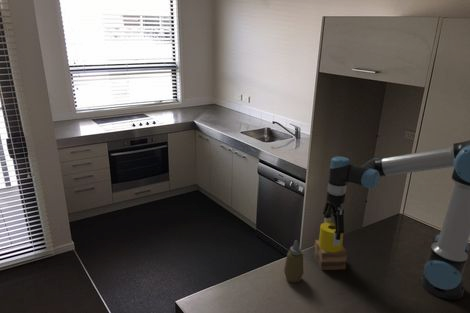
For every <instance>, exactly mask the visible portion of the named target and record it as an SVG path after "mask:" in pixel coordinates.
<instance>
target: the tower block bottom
mask: <svg viewBox="0 0 470 313" xmlns="http://www.w3.org/2000/svg"><path fill="white" fill-rule="evenodd" d="M313 251H314V252H313V257H314V259H315V261H316V264H317V266H318V267H319V269H320V270H321V271H326V270H327V271H330V270H332V271H335V270H339V271H340V270H346V268H347V261H346V262H321V260H320V258H319V256H318V255H317V253H316V251H315V249H313Z"/></svg>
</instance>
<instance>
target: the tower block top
mask: <svg viewBox="0 0 470 313" xmlns="http://www.w3.org/2000/svg"><path fill="white" fill-rule="evenodd" d="M313 250H315V251H316V253H317V255H318V256H319V258H320V260H321V262H346V263H347V258H348V251H347V250H346V248H345V247H344V245H342V249H341V251H339V252H327V251H324V250H322V249H321V248H320V247H319V239H314V248H313Z"/></svg>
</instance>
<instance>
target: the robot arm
mask: <svg viewBox="0 0 470 313" xmlns="http://www.w3.org/2000/svg"><path fill="white" fill-rule="evenodd" d="M350 162H351V161H350V159H349V158H348V157H345V156H339V155H337V156H334V157H332V158H331V159H330V166H329V174H328V181H327V190H326V191H327V192H326V203H325V205H324V207H323V212H322V214H323V215H324V216H323V217H324V220H323V221H324V222H323V223H325V222H332V221H331V220H332V217H333V223H335V231H334V239H333V246H340V238H341V233H343V234H344V233H345V222H344V221H345V220H344V218H345V217H344V214H345V210H344V209H342V207H341V206H342V205H343V204H344V203H345V201H346V193H347V192H346V190H347V187H348V183H349V184H353V185H356V186H360V187H363V188H367V189H368V188H369V189H375V188H376V187H377V186H378V185H379V182H380V178H382V177H388V176H389V177H390V176H395V175H403V174H410V173H418V172H425V171H433V170H439V169H446V168H453V167H454V168H453V171H452V174H451V180H452V181H453V183H454V185H453V189H452V192H451V197H450V199H449V203H448V206H447V209H446V212H445V215H444V220H443V223H442V225H441V228H440V233H439V234H436V235H435V239H434V243H432V244H431V247H430V249H429V254H428V257H427V259H426V263H425V264H424V266H423V275H422V277H421V285H422V287H423V288H424V290H426V291H427V292H428V293H430V294H431V295H434V296H436V297H438V298H440V299H445V300H449V301H450V300H451V301H456V300H460V299H461V298H463V295H464V292H465V286H464V280H463V274H464V270H465V266H466V264H467V260H468V257H469V256H468V254H469V251H470V243H469V238H470V139H469V140H466V141H461V142H455V143H452V145H450V146H449V147H442V148H438V149H437V148H436V149H429V150H426V151H419V152H413V153H407V154H400V155H396V156H395V155H394V156H389V157H383V158H377V157H375V158H374V157H373V158H371V159H369V160H367V161H366V162H365V163H364V164H362V165H354V164H351V163H350Z"/></svg>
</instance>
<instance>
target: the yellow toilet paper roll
mask: <svg viewBox="0 0 470 313" xmlns="http://www.w3.org/2000/svg"><path fill="white" fill-rule="evenodd" d="M334 231H335V223H334V221H333V222H332V221H331V222H325V223H324V222H323V223H321V224H320V229H319V237H318V240H319V247H320V248H321V249H322V250H324V251H327V252H339V251H341V249H342V246H343V243H344V242H343V240H344V239H343V238H344V233H341V238H340V246H333V239H334Z"/></svg>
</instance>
